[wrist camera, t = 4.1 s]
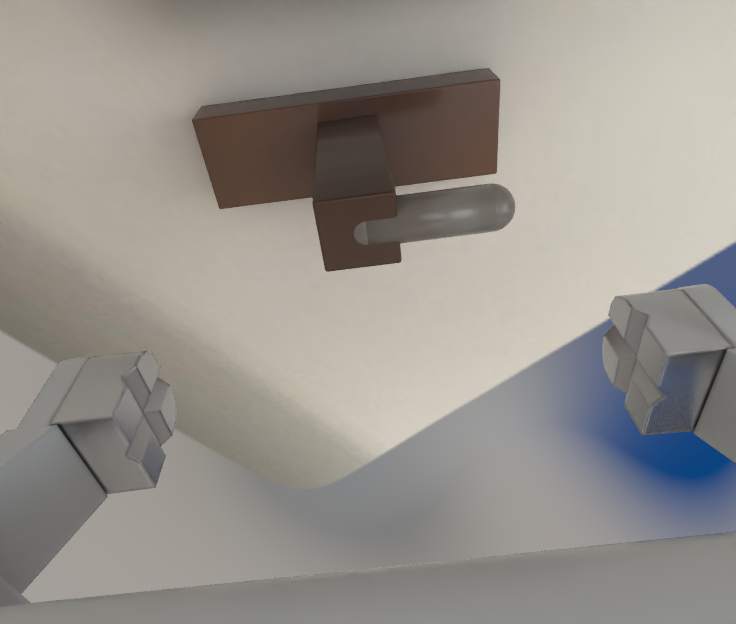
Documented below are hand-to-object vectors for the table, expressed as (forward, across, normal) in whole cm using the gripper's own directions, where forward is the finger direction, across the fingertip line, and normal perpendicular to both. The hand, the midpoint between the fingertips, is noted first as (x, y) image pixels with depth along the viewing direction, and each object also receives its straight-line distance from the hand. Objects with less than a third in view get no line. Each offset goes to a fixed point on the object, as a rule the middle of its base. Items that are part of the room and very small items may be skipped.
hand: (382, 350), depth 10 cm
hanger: (+12, 0, 0) cm, 12 cm away
